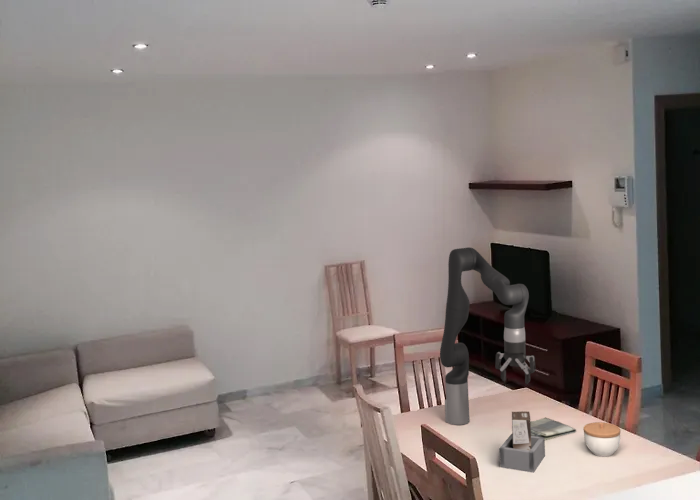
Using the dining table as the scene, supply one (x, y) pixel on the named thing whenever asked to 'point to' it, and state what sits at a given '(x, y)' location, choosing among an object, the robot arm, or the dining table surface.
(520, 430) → the coffee box
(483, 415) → the dining table surface
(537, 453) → the grey open box
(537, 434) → the dish towel
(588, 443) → the lidded bowl
